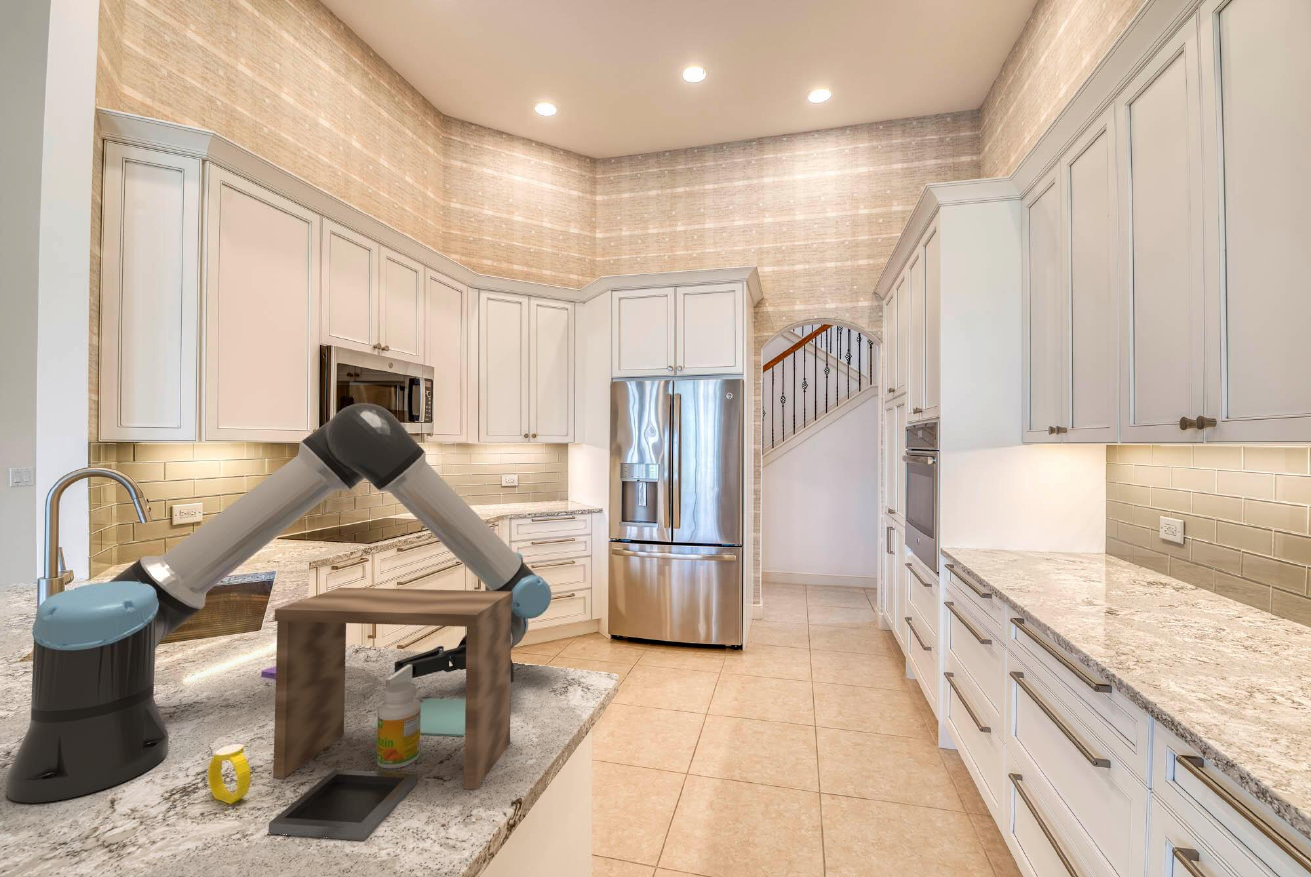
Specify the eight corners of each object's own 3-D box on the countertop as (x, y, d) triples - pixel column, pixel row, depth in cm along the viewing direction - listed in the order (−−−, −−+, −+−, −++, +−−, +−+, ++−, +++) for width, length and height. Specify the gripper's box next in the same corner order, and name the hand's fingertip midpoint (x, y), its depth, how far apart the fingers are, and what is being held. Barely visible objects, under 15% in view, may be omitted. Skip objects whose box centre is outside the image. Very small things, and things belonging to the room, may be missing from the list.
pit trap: (334, 778, 73) (334, 769, 74) (416, 783, 72) (416, 773, 72) (268, 834, 63) (268, 822, 63) (363, 840, 61) (364, 829, 61)
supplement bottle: (367, 763, 77) (369, 690, 78) (402, 746, 82) (403, 676, 82) (394, 773, 75) (396, 697, 75) (428, 755, 79) (429, 683, 80)
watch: (201, 802, 69) (200, 750, 69) (226, 790, 72) (225, 740, 72) (232, 810, 67) (231, 757, 67) (257, 797, 69) (256, 746, 70)
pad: (425, 699, 98) (425, 698, 98) (494, 702, 97) (494, 701, 97) (386, 732, 86) (386, 730, 86) (463, 736, 85) (463, 734, 85)
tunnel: (336, 732, 86) (339, 587, 87) (511, 740, 84) (512, 591, 84) (270, 779, 73) (274, 609, 74) (474, 791, 71) (476, 614, 71)
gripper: (550, 668, 107) (510, 718, 85) (421, 663, 109) (352, 712, 88) (550, 627, 107) (511, 667, 86) (422, 623, 109) (353, 662, 88)
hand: (430, 690), depth 87 cm, fingers open, 13 cm apart
